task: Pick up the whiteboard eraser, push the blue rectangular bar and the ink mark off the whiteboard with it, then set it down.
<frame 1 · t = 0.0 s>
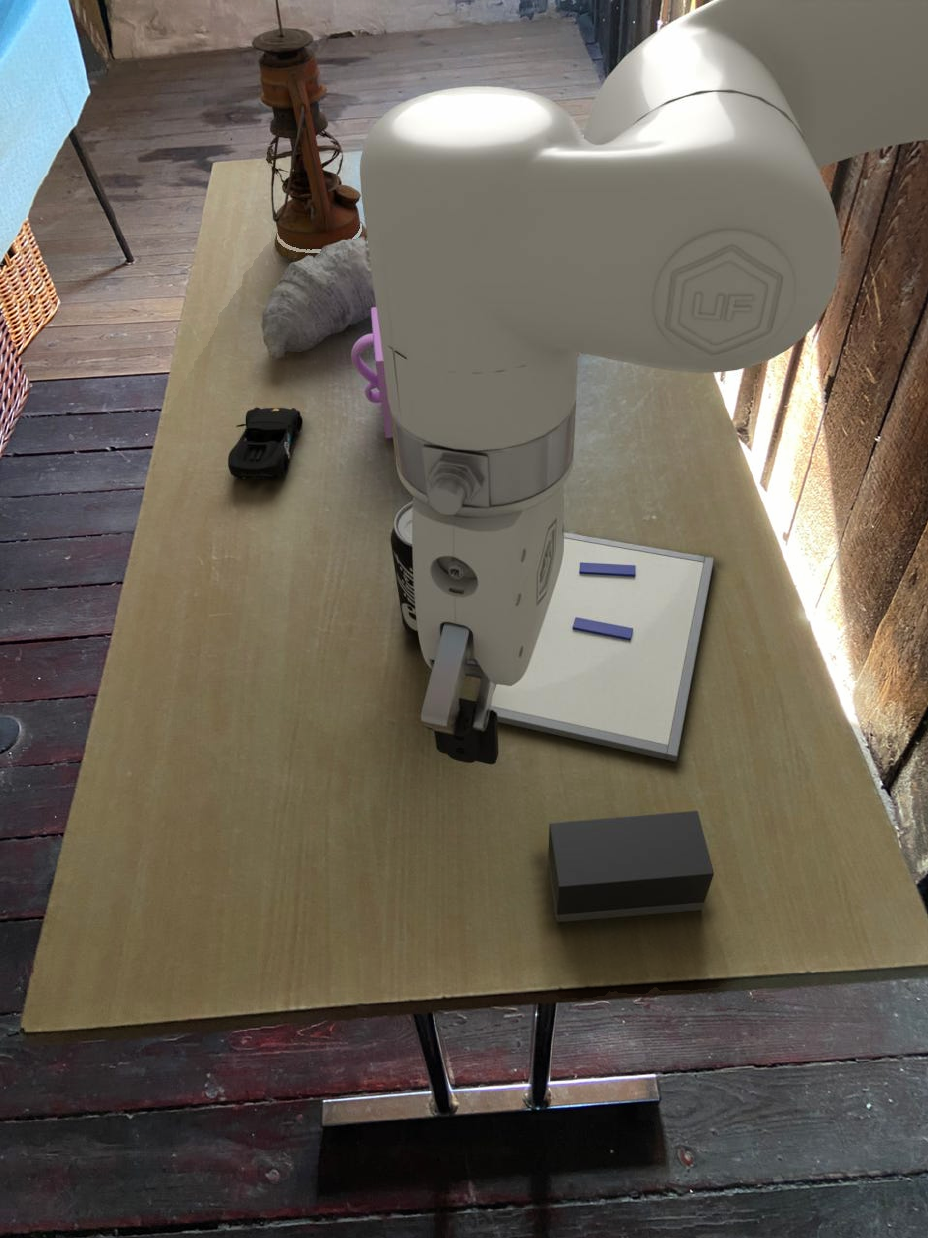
hand: (493, 682, 52), 21 cm above the table, tool pointing down, fingers open, 9 cm apart
coffee cup: (533, 322, 114), on the table
toy car: (269, 454, 99), on the table
whiteboard: (602, 635, 80), on the table
toy ball: (479, 531, 90), on the table
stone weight: (440, 297, 119), on the table
ink mark B: (607, 570, 84), point 1 cm above the table, touching whiteboard
seashell: (334, 334, 114), on the table
lantern: (321, 239, 130), on the table
teapot: (453, 415, 102), on the table
blue rectangular bar: (602, 629, 80), point 1 cm above the table, touching whiteboard
beverage can: (440, 623, 83), on the table
whiteboard eraser: (623, 885, 65), on the table
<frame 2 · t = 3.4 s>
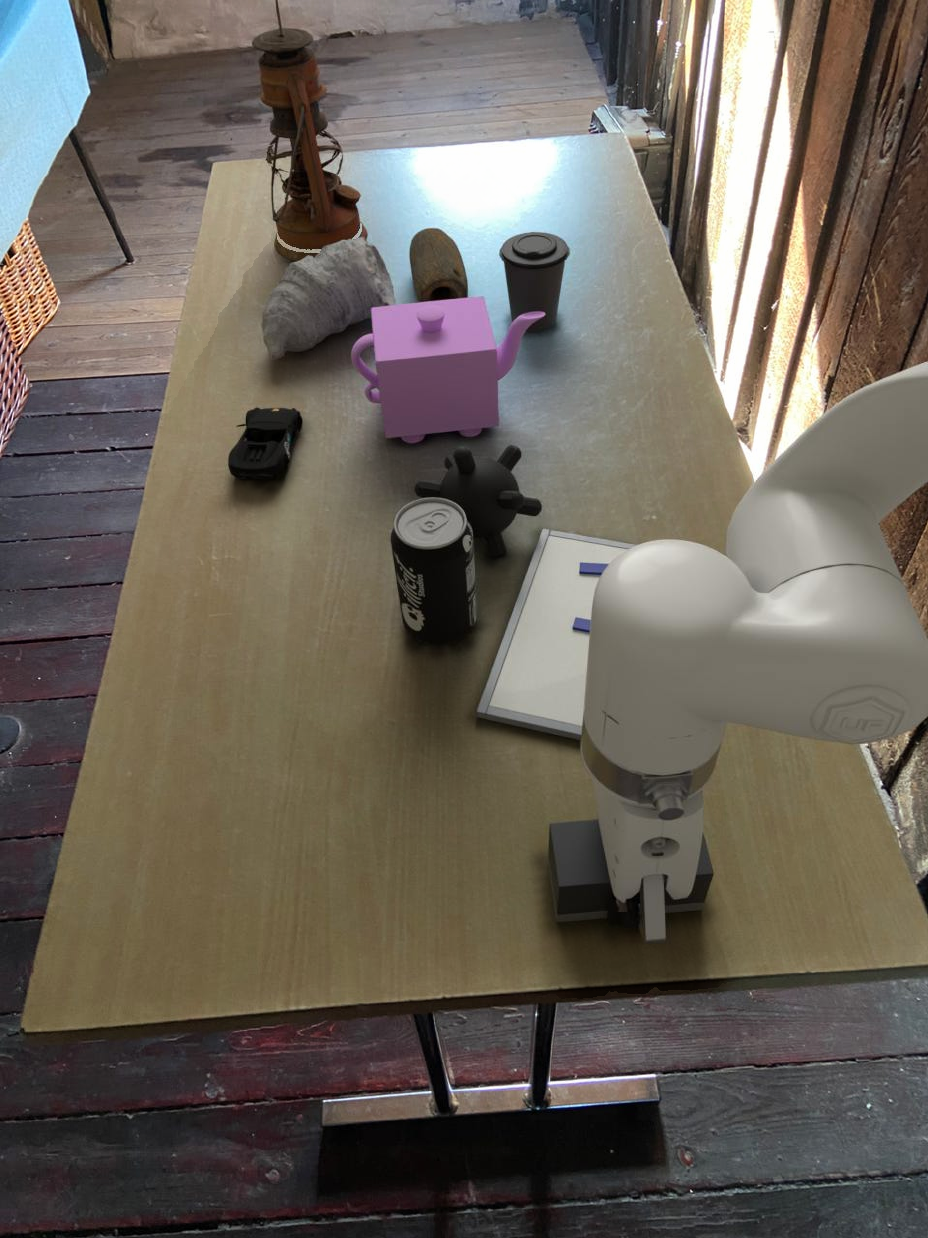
hand: (623, 882, 65), 0 cm above the table, tool pointing down, fingers closed on whiteboard eraser, 4 cm apart
whiteboard eraser: (623, 885, 65), on the table, touching gripper
everything else where it was.
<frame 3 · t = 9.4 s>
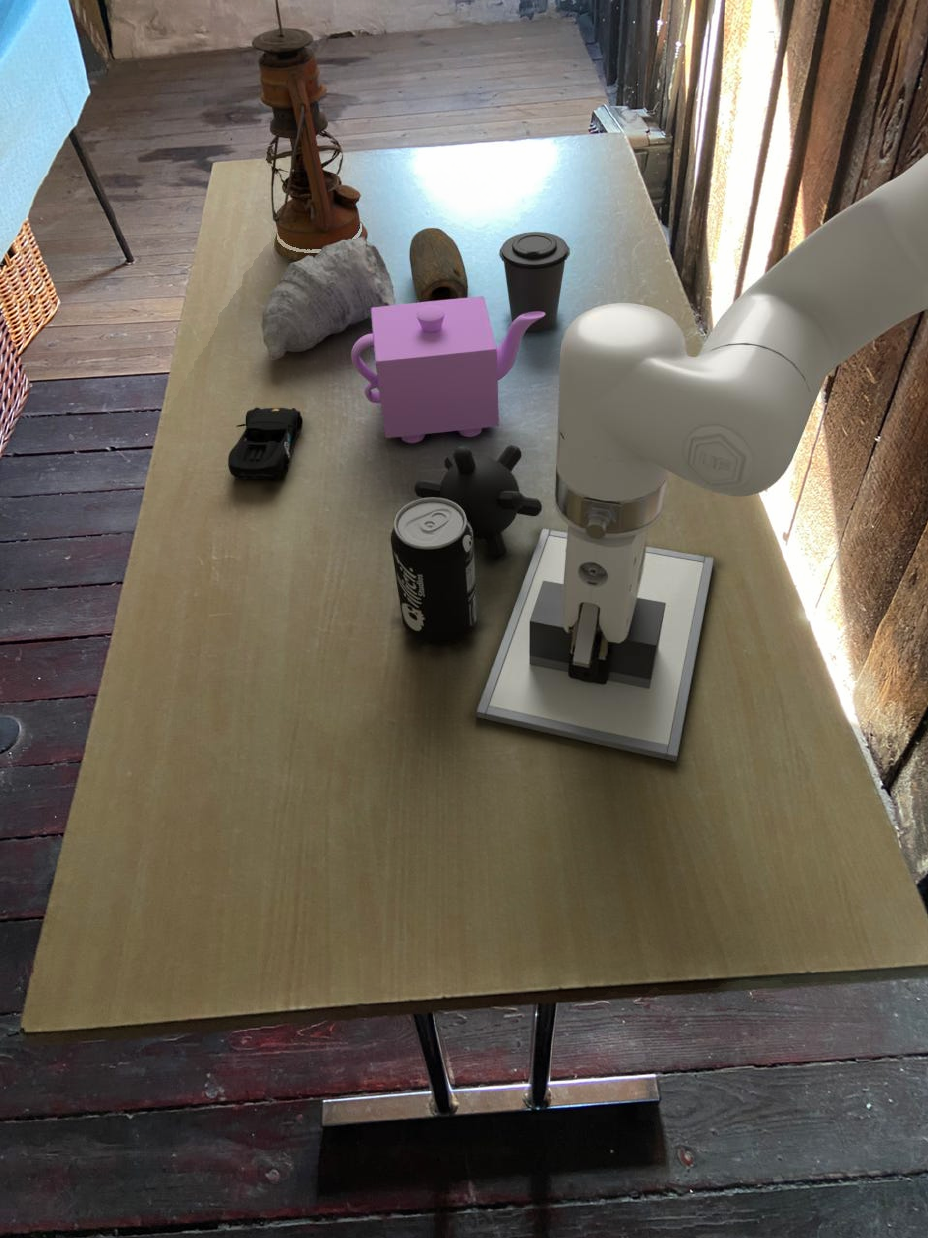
hand: (594, 652, 78), 1 cm above the table, tool pointing down, fingers closed on whiteboard eraser, 4 cm apart
blue rectangular bar: (603, 627, 80), point 1 cm above the table, touching gripper, whiteboard
whiteboard eraser: (594, 655, 78), point 1 cm above the table, touching gripper
everything else where it was.
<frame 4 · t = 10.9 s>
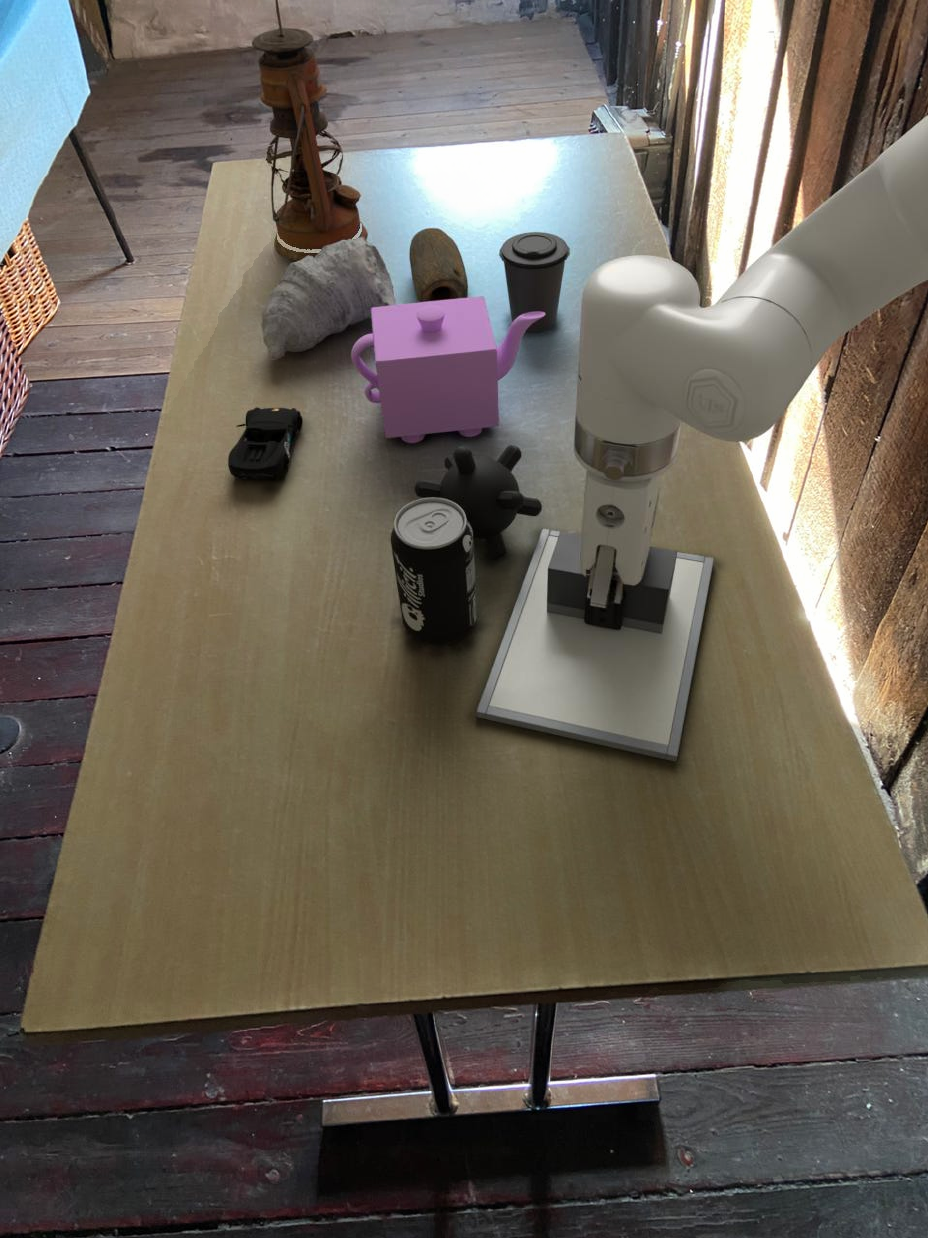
hand: (609, 600, 81), 1 cm above the table, tool pointing down, fingers closed on whiteboard eraser, 4 cm apart
ink mark B: (608, 567, 85), point 1 cm above the table, touching blue rectangular bar
blue rectangular bar: (616, 580, 84), point 1 cm above the table, touching gripper, ink mark B, whiteboard, whiteboard eraser
whiteboard eraser: (608, 603, 82), point 1 cm above the table, touching gripper, blue rectangular bar
everything else where it was.
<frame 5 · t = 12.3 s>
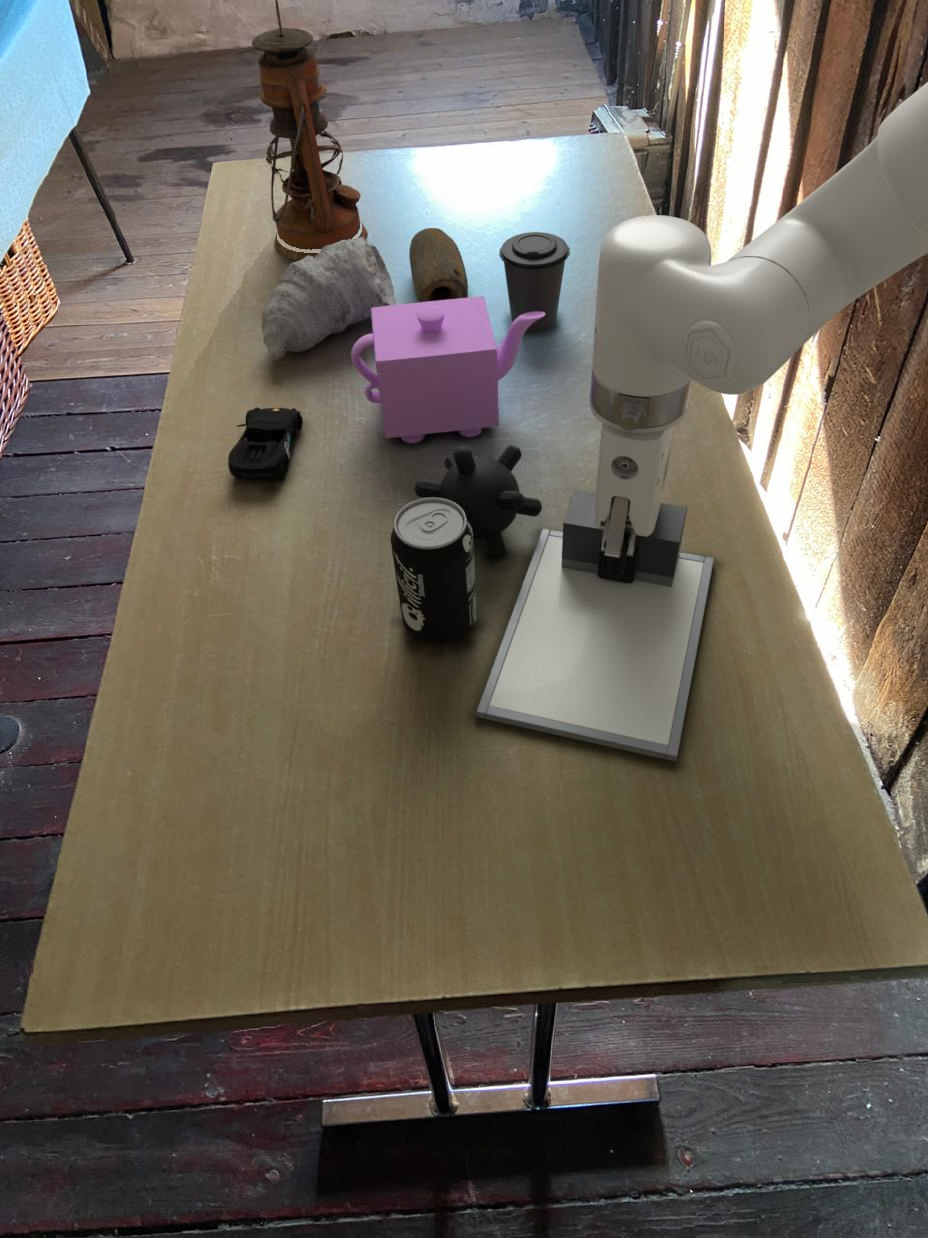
hand: (621, 556, 85), 1 cm above the table, tool pointing down, fingers closed on whiteboard eraser, 4 cm apart
ink mark B: (617, 536, 88), on the table, tilted 180°
blue rectangular bar: (627, 539, 87), point 1 cm above the table, tilted 8°, touching gripper, whiteboard, whiteboard eraser
whiteboard eraser: (620, 559, 85), point 1 cm above the table, touching gripper, blue rectangular bar
everything else where it was.
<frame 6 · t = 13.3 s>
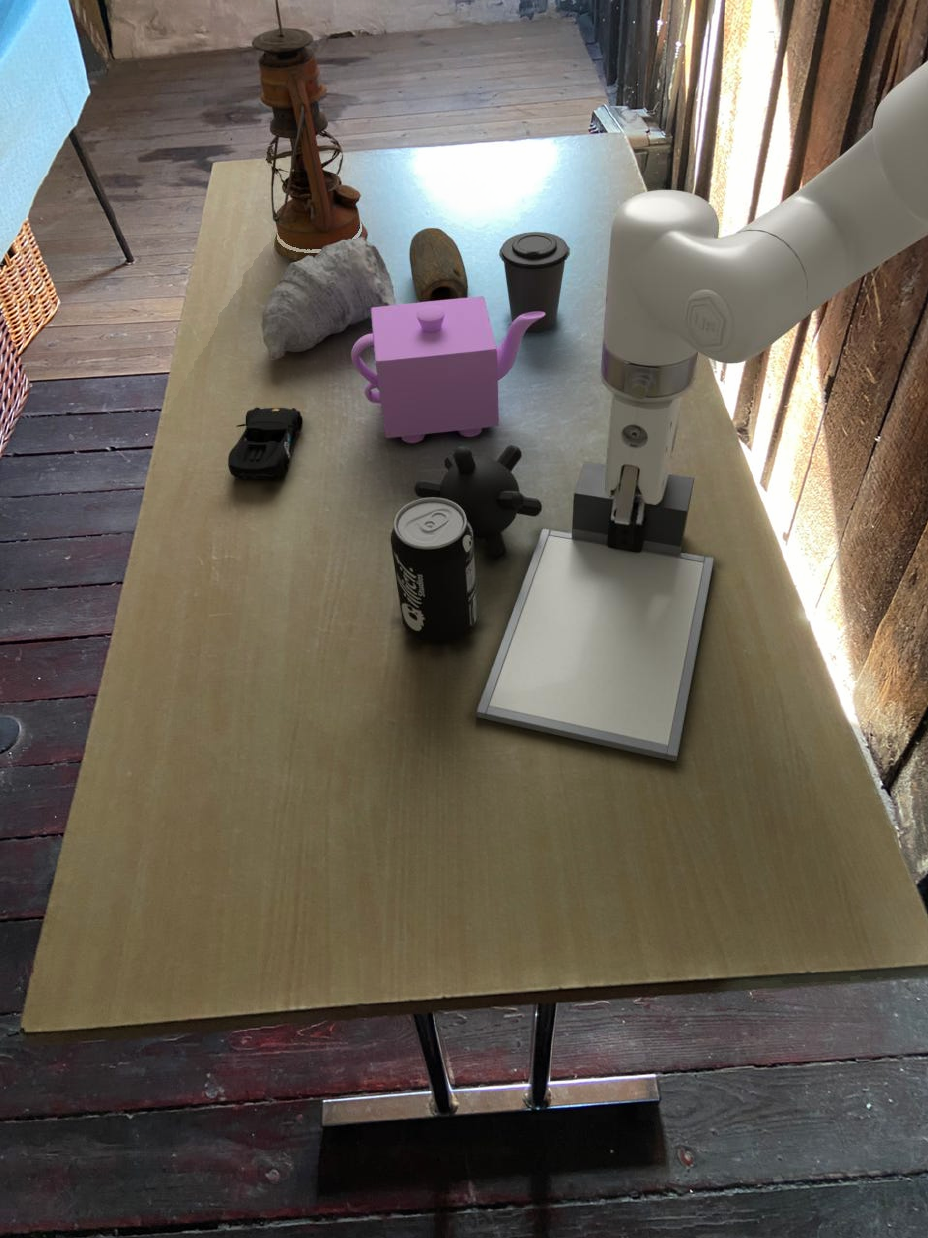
hand: (629, 527, 87), 1 cm above the table, tool pointing down, fingers closed on whiteboard eraser, 4 cm apart
ink mark B: (618, 534, 88), on the table, tilted 180°, touching blue rectangular bar
blue rectangular bar: (629, 536, 88), on the table, touching ink mark B
whiteboard eraser: (629, 530, 88), point 1 cm above the table, touching gripper
everything else where it was.
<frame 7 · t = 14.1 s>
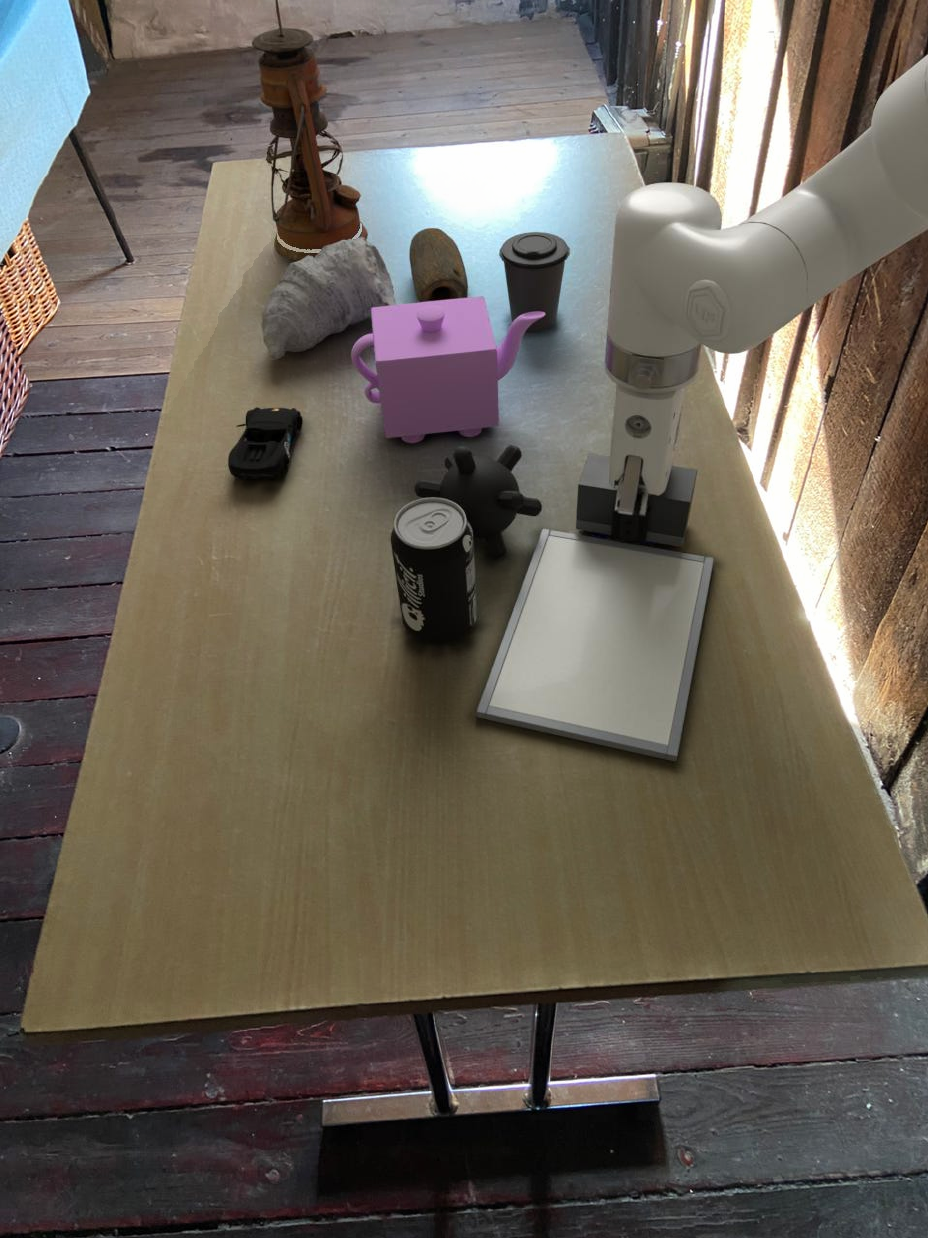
hand: (633, 518, 88), 1 cm above the table, tool pointing down, fingers closed on whiteboard eraser, 4 cm apart
whiteboard eraser: (632, 521, 89), point 1 cm above the table, touching gripper
everything else where it was.
when the fingers open (0 cm above the table, at t = 22.0 s): whiteboard eraser stays where it is, on the table.
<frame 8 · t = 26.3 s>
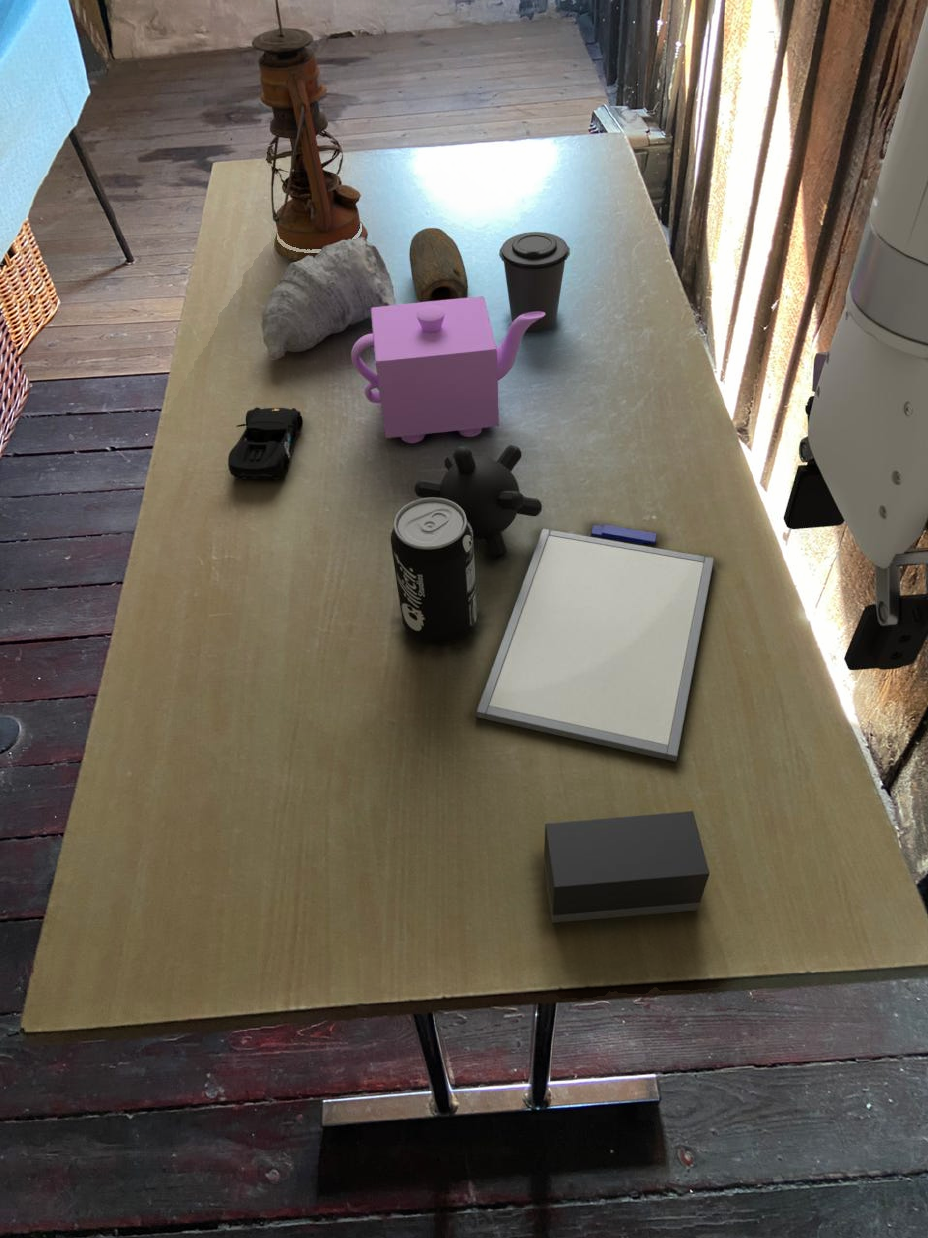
hand: (842, 588, 48), 26 cm above the table, tool pointing down, fingers open, 9 cm apart
whiteboard eraser: (619, 885, 65), on the table
everything else where it was.
at the end: blue rectangular bar on the table; ink mark B on the table; whiteboard eraser inside the target area (0.3 cm from its centre), on the table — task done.
